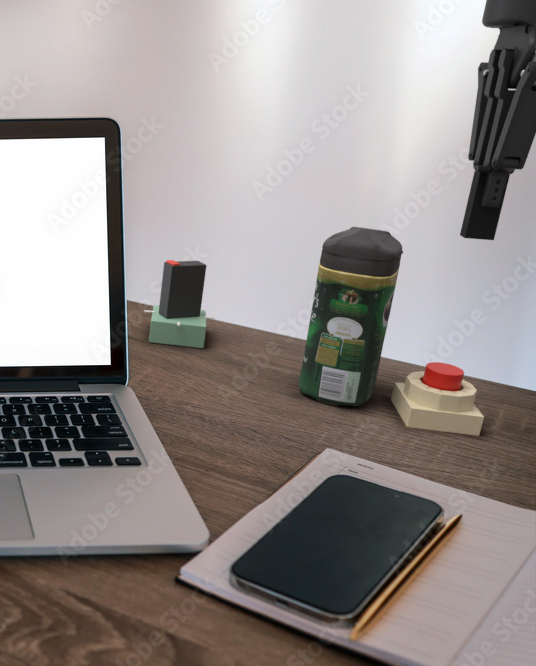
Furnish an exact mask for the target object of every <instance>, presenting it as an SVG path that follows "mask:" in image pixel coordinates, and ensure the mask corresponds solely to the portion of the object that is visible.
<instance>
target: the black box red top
mask: <svg viewBox="0 0 536 666" xmlns="http://www.w3.org/2000/svg"><path fill="white" fill-rule="evenodd" d="M206 272H207V264H206V263H203V262H202V261H200V260H181V261H180V260H178V261H176V260H174V259H167V260H165V261H164V262H163V270H162V278H161V279H162V280H161V288H160V296H159V305H158V306H159V314H160V315H162V316H163V317H165V318H182V317H197V316H200V311H201V310H202V303H203V295H204V287H205V280H206Z"/></svg>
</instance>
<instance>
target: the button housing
mask: <svg viewBox="0 0 536 666" xmlns="http://www.w3.org/2000/svg"><path fill="white" fill-rule="evenodd" d="M424 372H425V370H421V371H412V372H410V373H409V374H408V375H407V376H406V378H405V382H398V381H397V382H394V385H393V389H392V394H391V397H390V401H391V402H392V405H393V406H394V408H395V410H396V411H397V413H398V415H399V416H400V418H401V420H402V421H403V423H404V424H405V427H406V428H413V429H421V430H428V431H437V432H445V433H452V434H461V435H462V434H463V435H468V436H478V437H479V436H480V433H481V431H482V427H483V423H484V420H485V416H484V414H483V413H482V412H481V411H480V410H479V409H478V407H477V406H476V405H475V401H476V397H477V393H478V392H477V391H478V389H477V388H476V387H475V386H474V385H473V384H472V383H471V382H469V381H466V380H465V379H463V380H462V384H461V387H460V391H454V392H453V391H444V390H439V389H435V388H432V387H429V386H427V385H425V384H423V383H422V380H423V376H424Z"/></svg>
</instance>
